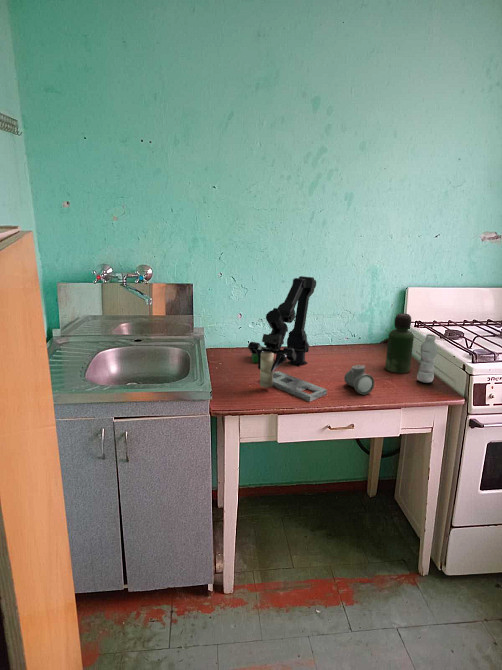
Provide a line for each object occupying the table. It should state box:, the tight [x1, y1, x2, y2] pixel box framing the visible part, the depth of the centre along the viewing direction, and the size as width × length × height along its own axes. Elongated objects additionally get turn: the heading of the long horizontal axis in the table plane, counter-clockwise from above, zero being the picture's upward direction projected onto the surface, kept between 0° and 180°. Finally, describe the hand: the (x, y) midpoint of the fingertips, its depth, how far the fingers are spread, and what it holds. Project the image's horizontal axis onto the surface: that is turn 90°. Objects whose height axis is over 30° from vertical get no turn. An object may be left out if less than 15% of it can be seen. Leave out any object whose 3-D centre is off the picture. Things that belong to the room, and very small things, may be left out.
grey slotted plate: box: [272, 370, 328, 402], centre depth 188 cm, size 10×26×2 cm, turn 43°
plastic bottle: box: [416, 333, 438, 384], centre depth 194 cm, size 6×7×20 cm
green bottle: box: [384, 313, 415, 374], centre depth 206 cm, size 10×10×25 cm
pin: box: [259, 352, 275, 389], centre depth 183 cm, size 5×5×13 cm
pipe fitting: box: [343, 364, 375, 396], centre depth 187 cm, size 12×8×10 cm
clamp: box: [251, 353, 258, 364], centre depth 218 cm, size 11×6×8 cm, turn 177°
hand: (265, 370), depth 182 cm, fingers closed on pin, 5 cm apart
